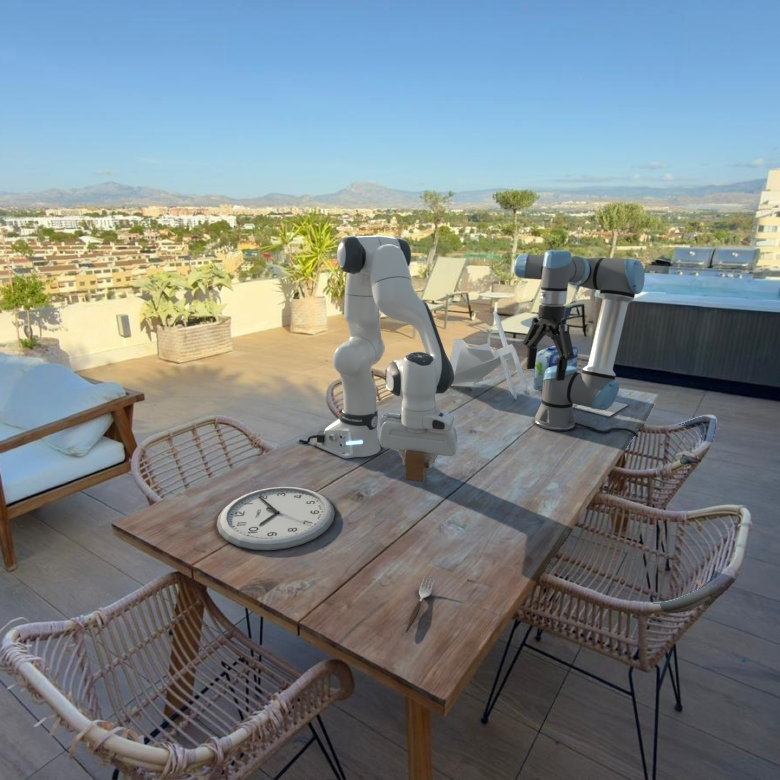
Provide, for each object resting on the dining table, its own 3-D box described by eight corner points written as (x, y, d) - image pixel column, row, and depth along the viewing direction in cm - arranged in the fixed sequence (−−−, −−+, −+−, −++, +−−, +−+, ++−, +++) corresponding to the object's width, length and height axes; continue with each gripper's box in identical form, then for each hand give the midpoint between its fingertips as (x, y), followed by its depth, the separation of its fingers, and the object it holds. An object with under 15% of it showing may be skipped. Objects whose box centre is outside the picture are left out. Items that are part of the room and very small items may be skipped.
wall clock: (333, 542, 123) (202, 546, 121) (333, 547, 124) (203, 552, 121) (335, 482, 152) (229, 485, 149) (335, 487, 152) (230, 490, 150)
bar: (428, 442, 159) (428, 418, 157) (443, 444, 158) (444, 420, 155) (405, 479, 136) (405, 452, 134) (423, 482, 134) (423, 454, 132)
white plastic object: (461, 429, 252) (437, 405, 227) (444, 352, 274) (420, 323, 250) (535, 404, 240) (518, 377, 215) (510, 326, 262) (492, 293, 237)
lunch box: (550, 397, 237) (555, 352, 231) (529, 391, 245) (533, 348, 238) (577, 386, 255) (582, 344, 249) (556, 381, 262) (561, 340, 256)
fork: (399, 632, 98) (399, 624, 98) (423, 581, 112) (424, 573, 112) (412, 636, 97) (413, 627, 97) (435, 584, 112) (435, 576, 111)
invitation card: (608, 416, 214) (573, 407, 224) (608, 416, 214) (573, 408, 224) (628, 404, 229) (594, 396, 238) (628, 405, 229) (594, 397, 238)
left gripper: (376, 416, 133) (376, 465, 137) (455, 425, 128) (453, 476, 132) (383, 408, 139) (383, 456, 143) (459, 416, 133) (457, 466, 137)
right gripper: (516, 299, 163) (510, 365, 170) (571, 311, 141) (562, 386, 148) (535, 298, 166) (529, 363, 172) (593, 310, 144) (583, 384, 151)
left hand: (417, 466), depth 137 cm, fingers closed on bar, 5 cm apart
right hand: (544, 374), depth 160 cm, fingers open, 13 cm apart
